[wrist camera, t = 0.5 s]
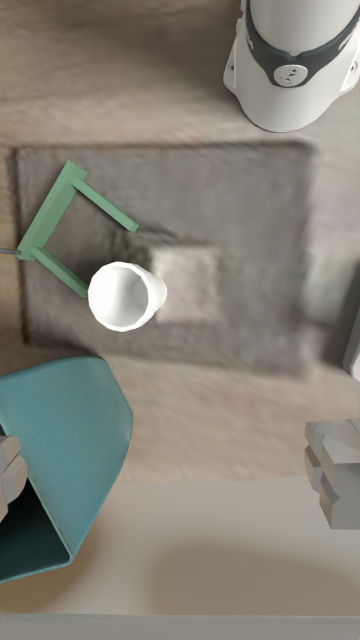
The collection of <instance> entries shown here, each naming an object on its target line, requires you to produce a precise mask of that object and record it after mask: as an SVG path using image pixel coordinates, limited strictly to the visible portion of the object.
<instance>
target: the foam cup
mask: <svg viewBox="0 0 360 640" xmlns="http://www.w3.org/2000/svg"><path fill="white" fill-rule="evenodd" d="M88 297H89V307H90V308H91V310H92V312H93V314H94V316H95V317H96V319H97V320H98V321H99V322H100V323H102V324H103V325H104V326H106V327H107V328H108V329H112V330H117V331H121V332H124V331H128V330H131V329H135V328H138V327H140V326H142V325H143V324H144V323H146V322H147V321H148V320H149V319H150V318H151V317H152V316H153V314H154V312H155V311H156V310H157V309H158V308H160V307H161V306H162V305H163V304H164V302H165V300H166V297H167V287H166V286H165V284H164V282H163V280H162V279H160V278H159V277H157V276H156V275H154V274H152V273H150V272H148V271H146V270H144V269H143V268H141V267H140V266H139V265H136V264H130V263H124V262H114V263H111V264H108V265H105V266H102V268H101V269H100V270H99V271H98V272H97V273H96V274H95V275H94V276H93V277H92V280H91V283H90V286H89V289H88Z"/></svg>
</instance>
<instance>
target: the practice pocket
mask: <svg viewBox="0 0 360 640" xmlns="http://www.w3.org/2000/svg"><path fill="white" fill-rule="evenodd" d="M87 174H88V173H87V172H86V171H85V170H84V169H82V168H81V167H80V166H78V165H77V164H75V163H74V162H72V161H71V160H69V159H68V161H67V163H66V164H65V166H64V168H63V170H62V171H61V173H60V175H59V177H58V178H57V180H56V182H55V183H54V185H53V187H52V189H51V190H50V192H49V194H48V196H47V197H46V199H45V201H44V203H43V204H42V206H41V208H40V210H39V211H38V213H37V215H36V217H35V218H34V220H33V222H32V224H31V225H30V227H29V229H28V231H27V232H26V234H25V236H24V237H23V239H22V241H21V243H20V244H19V246H18V248H17V250H12V249H3V248H0V253H4V254H14V255H15V256H17V257H18V258H19V259H21V260H34V261H35V260H36V259H37V260H39V261H40V262H41V263H42V264H43V265H45V266H46V267H47V268H48V269H49V270H50V271H52V272H53V273H54V274H55V275H56V276H57V277H59V278H60V279H61V280H62V281H63V282H65V283H66V284H67V285H68V286H69V287H70V288H72V289H73V290H74V291H75V292H76V293H77V294H79V295H80V296H81V297H82V298H89V297H88V289H89V286H88V285H87V284H86V283H84V282H83V281H82V280H81V279H80V278H78V277H77V276H76V275H75V274H74V273H73V272H71V271H70V270H69V269H68V268H67V267H65V266H64V265H63V264H62V263H61V262H60V261H58V260H57V259H56V258H55V257H54V256H52V255H51V254H50V253H49V252H48V251H46V250H45V249H44V248H43V247H44V245H45V244H46V242H47V240H48V239H49V237H50V235H51V234H52V232H53V230H54V229H55V227H56V225H57V224H58V222H59V220H60V219H61V217H62V215H63V214H64V212H65V210H66V209H67V207H68V205H69V204H70V202H71V200H72V199H73V197H74V195H75V194H76V192H77V190H80V191H81V192H82V193H83V194H85V195H86V196H87V197H88V198H90V199H91V200H92V201H93V202H94V203H96V204H97V205H98V206H99V207H101V208H102V209H103V210H104V211H106V212H107V213H108V214H109V215H111V216H112V217H113V218H114V219H115V220H117V221H118V222H119V223H120V224H122V225H123V226H124V227H125V228H127V229H128V230H129V231H132V232H135V231H136V229H137V228H138V226H139V225H138V224H137V223H136V222H135V221H133V220H132V219H131V218H130V217H128V216H127V215H126V214H125V213H123V212H122V211H121V210H120V209H118V208H117V207H116V206H115V205H113V204H112V203H111V202H110V201H108V200H107V199H106V198H105V197H104V196H102V195H101V194H100V193H99V192H97V191H96V190H95V189H94V188H92V187H91V186H90V185H89V184H87V183H86V182H85V181H84V179H85V177H86V175H87Z"/></svg>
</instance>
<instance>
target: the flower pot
mask: <svg viewBox="0 0 360 640" xmlns="http://www.w3.org/2000/svg"><path fill="white" fill-rule="evenodd" d="M132 425H133V414H132V411H131V409H130V407H129V405H128V403H127V401H126V399H125V397H124V396H123V394H122V392H121V390H120V388H119V386H118V384H117V382H116V380H115V378H114V376H113V374H112V372H111V370H110V368H109V366H108V364H107V362H106V361H105V360H104V359H101V358H98V357H93V356H73V357H66V358H60V359H56V360H52V361H49V362H46V363H42V364H39V365H36V366H32V367H29V368H25V369H22V370H18V371H15V372H11V373H8V374H4V375H1V376H0V436H12V435H13V436H15V437H17V438H19V441H20V444H21V447H22V448H21V450H20V452H19V455H20V456H21V457H22V458H23V459H24V460H25V461H26V465H27V480H26V483H25V486H24V488H23V490H22V492H21V493H20V495H19V496H18V497H17V498H16V499H14V500H13V501H11V502H10V503H9V504H8V512H7V514H6V515H5V516H4V518H3V519H2V521H1V522H0V584H1V583H4V582H8V581H11V580H15V579H19V578H22V577H26V576H30V575H34V574H38V573H42V572H46V571H50V570H53V569H57V568H61V567H65V566H68V565H69V564H71V563H72V561H73V559H74V557H75V555H76V553H77V552H78V550H79V548H80V546H81V544H82V542H83V540H84V538H85V536H86V534H87V532H88V531H89V529H90V527H91V525H92V523H93V521H94V519H95V517H96V516H97V513H98V512H99V510H100V508H101V506H102V504H103V503H104V501H105V499H106V497H107V495H108V493H109V491H110V489H111V488H112V486H113V484H114V482H115V480H116V478H117V477H118V475H119V473H120V470H121V468H122V465H123V463H124V460H125V457H126V454H127V451H128V447H129V443H130V439H131V434H132Z"/></svg>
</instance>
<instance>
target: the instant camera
mask: <svg viewBox="0 0 360 640" xmlns="http://www.w3.org/2000/svg"><path fill="white" fill-rule="evenodd" d="M342 364H343V369H344V370H345V371H346V372H347V373H348V374H349V375H350V376H351V377H352V378H354V379H355V380H356V381H358V382H359V383H360V305H359V308H358V312H357V315H356V318H355V321H354V325H353V328H352V331H351V335H350V338H349V341H348V345H347V348H346V351H345V355H344V358H343V361H342Z"/></svg>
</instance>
